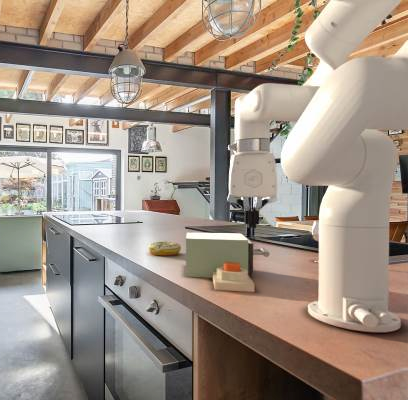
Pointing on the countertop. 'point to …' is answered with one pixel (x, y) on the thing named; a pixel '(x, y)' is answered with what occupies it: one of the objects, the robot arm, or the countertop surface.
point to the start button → (232, 266)
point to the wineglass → (316, 233)
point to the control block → (232, 280)
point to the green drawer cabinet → (214, 252)
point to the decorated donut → (164, 248)
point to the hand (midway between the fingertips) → (251, 227)
